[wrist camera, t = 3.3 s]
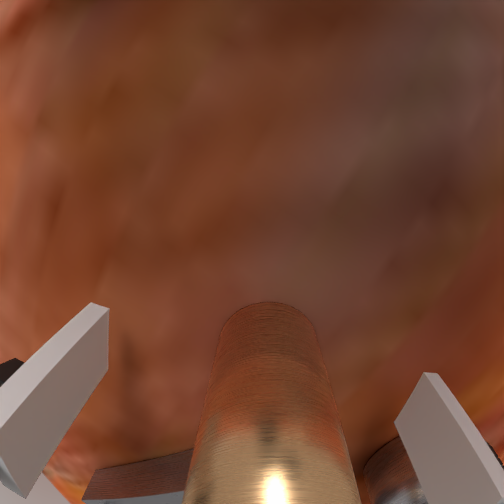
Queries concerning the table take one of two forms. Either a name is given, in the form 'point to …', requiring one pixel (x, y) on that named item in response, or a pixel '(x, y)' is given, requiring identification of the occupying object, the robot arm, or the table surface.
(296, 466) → the brass peg
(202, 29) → the table surface
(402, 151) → the table surface
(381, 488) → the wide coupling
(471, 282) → the table surface
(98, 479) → the flange socket
